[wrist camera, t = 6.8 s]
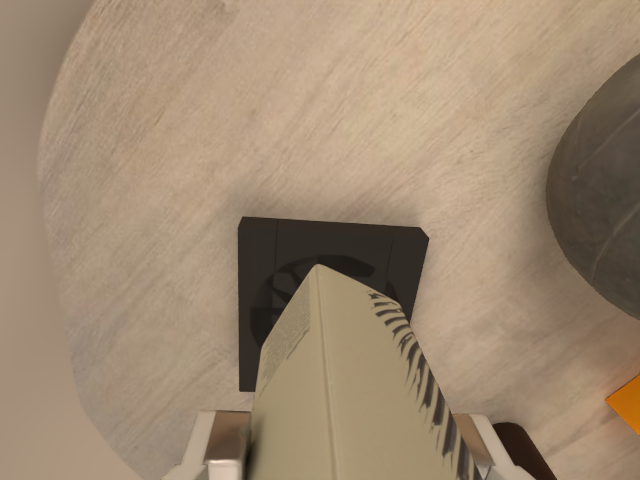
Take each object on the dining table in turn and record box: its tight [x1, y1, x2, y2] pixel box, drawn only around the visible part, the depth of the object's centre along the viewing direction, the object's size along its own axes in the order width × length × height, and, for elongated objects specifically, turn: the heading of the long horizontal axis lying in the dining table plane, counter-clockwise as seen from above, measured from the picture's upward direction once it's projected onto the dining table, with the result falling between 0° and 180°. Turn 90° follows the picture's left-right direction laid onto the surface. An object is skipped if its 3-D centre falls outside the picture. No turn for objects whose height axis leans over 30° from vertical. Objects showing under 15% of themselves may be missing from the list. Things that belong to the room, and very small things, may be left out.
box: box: [246, 264, 483, 480], centre depth 9 cm, size 5×4×13 cm
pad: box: [238, 217, 429, 392], centre depth 34 cm, size 16×18×2 cm
